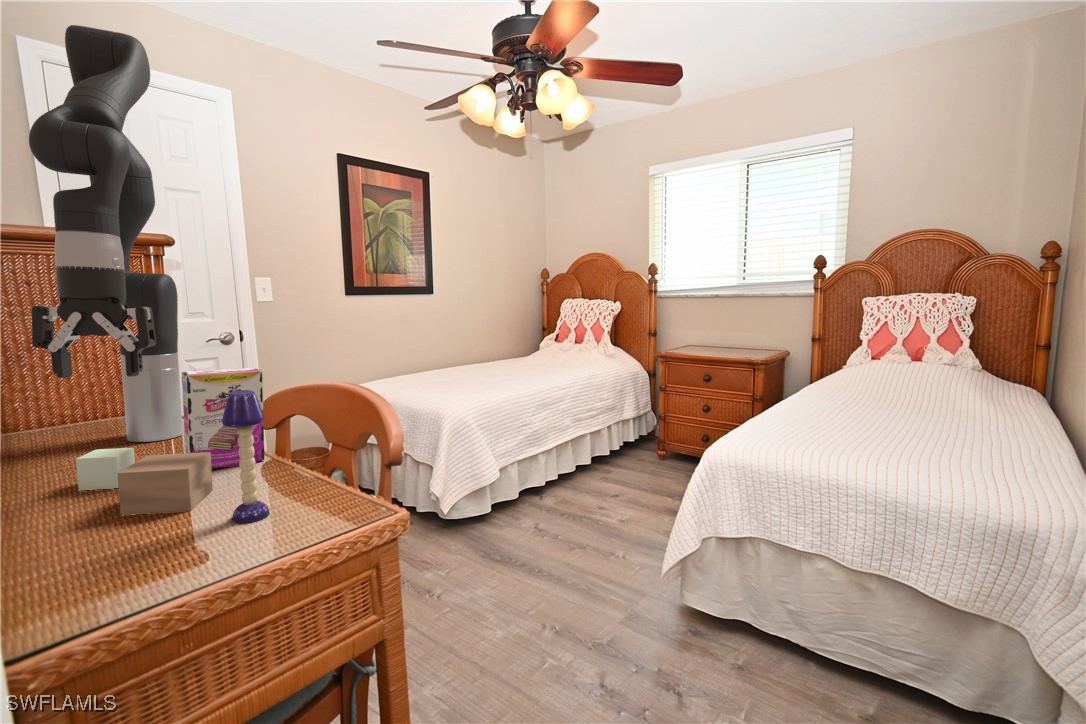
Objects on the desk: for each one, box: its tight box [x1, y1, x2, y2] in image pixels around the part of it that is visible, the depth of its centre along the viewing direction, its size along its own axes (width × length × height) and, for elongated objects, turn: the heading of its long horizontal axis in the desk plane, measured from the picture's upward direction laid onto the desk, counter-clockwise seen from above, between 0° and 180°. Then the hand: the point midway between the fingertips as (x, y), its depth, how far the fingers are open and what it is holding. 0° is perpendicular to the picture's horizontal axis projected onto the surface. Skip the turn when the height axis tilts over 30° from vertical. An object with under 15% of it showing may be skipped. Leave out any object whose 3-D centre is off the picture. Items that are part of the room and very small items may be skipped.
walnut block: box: [117, 452, 214, 517], centre depth 71 cm, size 8×8×6 cm
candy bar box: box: [181, 367, 265, 471], centre depth 87 cm, size 11×5×16 cm, turn 135°
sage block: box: [75, 447, 136, 491], centre depth 78 cm, size 5×5×5 cm
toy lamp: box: [222, 390, 270, 524], centre depth 66 cm, size 5×5×17 cm
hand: (99, 376), depth 76 cm, fingers open, 8 cm apart
